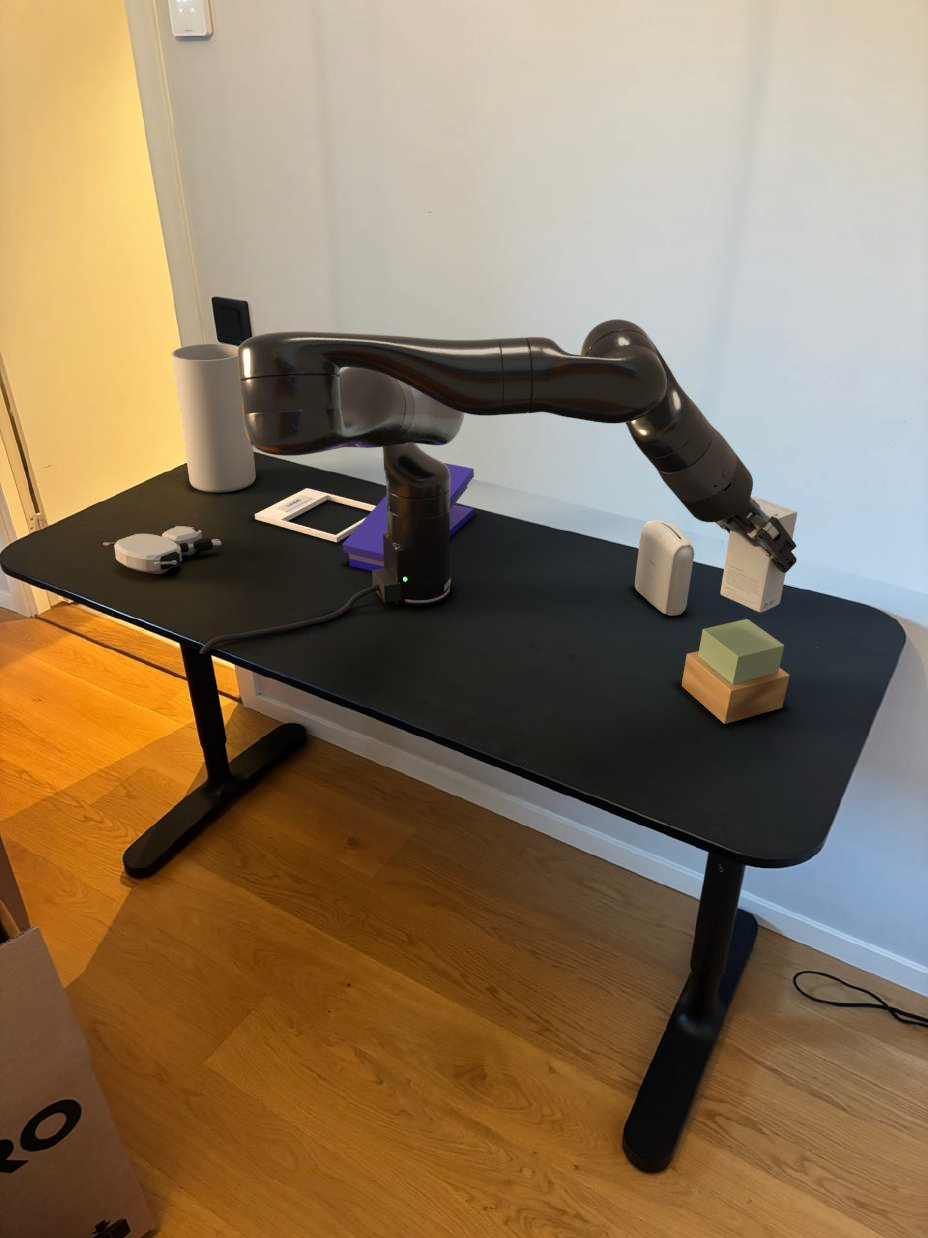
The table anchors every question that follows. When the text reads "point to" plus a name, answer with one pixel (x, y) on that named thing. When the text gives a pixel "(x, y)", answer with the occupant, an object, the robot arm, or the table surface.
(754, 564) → the cosmetic box
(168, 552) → the robot toy
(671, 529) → the photo printer
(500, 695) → the table surface
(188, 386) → the cylinder vase
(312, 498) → the photo frame
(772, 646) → the upper block
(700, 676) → the lower block
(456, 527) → the stapler
